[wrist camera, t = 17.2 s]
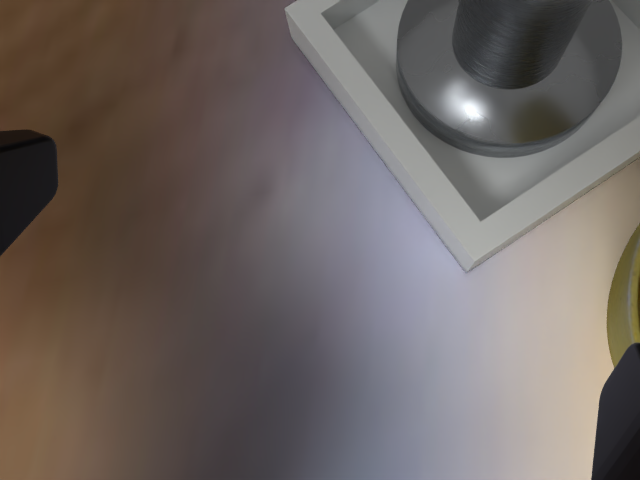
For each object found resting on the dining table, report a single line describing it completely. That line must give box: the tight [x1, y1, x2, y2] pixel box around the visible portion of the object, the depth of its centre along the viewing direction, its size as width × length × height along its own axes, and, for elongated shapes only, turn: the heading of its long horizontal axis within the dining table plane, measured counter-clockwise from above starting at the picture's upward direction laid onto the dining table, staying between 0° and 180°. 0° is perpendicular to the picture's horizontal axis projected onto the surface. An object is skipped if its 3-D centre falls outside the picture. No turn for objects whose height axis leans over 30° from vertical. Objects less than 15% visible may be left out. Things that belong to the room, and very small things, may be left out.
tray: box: [285, 0, 640, 273], centre depth 23 cm, size 12×12×2 cm
